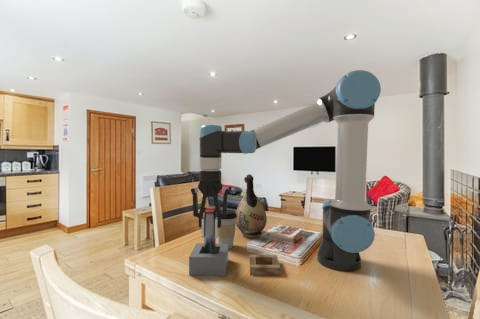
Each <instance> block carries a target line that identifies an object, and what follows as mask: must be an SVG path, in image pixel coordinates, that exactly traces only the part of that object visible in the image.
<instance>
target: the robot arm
mask: <svg viewBox="0 0 480 319" xmlns="http://www.w3.org/2000/svg"><path fill="white" fill-rule="evenodd" d="M381 92H382V88H381V83H380V81H379V79H378V77H377V76H375V75H374V73H372V72H370V71H367V70H363V69H355V70H352V71H349V72H347V73H346V74H344V75H343V76H342V77H341V78H340V79H338V81H337V83H336V85H335V86H334V88H333V89H331V90H330V91H329V92H328V93H326V94H324V95H323V96H321V97H320V96H319V98H317V100H316V102H314V103H312V104H309V105H307V106H304V107H302V108H300V109H297V110H295V111H293V112H291V113H288V114H286V115H284V116H282V117H280V118H277V119H275V120H272V121H270V122H268V123H265V124H263V125H260V126H258V127H257V128H254V129H251V130H236V131H235V130H231V131H230V130H229V131H225V130H223V129H222V126H221V125H219V124H218V125H217V124H203V125H201V127H200V129H199V131H200V132H199V139H198V140H199V169H200V170H199V183H198V185H197V186H195V187H192V188H191V189H190V192H191V194H192V216H193V217H195V218H198V228H201V238H203V239H204V208H205V207H206V203H207V199H208V198H212V199H213V202H214V207H215V208H216V214H217V217H216V219H215V238H216V239H218V228H220V227H221V218H223V217H226V214H227V210H228V194H229V192H230V188H229V187H225V186H223V184H222V171H221V169H222V154H244V155H245V154H247V155H248V154H254V153H256V151H257V150H258V149H261V148H262V147H265V146H268V145H270V144H272V143H275V142H277V141H279V140H283V139H285V138H287V137H290V136H292V135H294V134H296V133H299V132H301V131H304V130H306V129H309V128H311V127H314V126H315V125H318V124H320V123H331V122H333V121H334V122H336V124H337V139H336V140H337V144H336V146H337V147H336V168H335V170H336V171H335V196H334V199H325V200H324V201H323V203H322V236H321V237H322V238H321V242H320V245H319V248H318V250H317V252H316V256H317V257H316V258H317V261H318V262H319V264H321V265H322V266H325V267H326V268H328V269H332V270H336V271H343V272H354V271H357V270H359V269H361V267H362V258H361V254H360V253H361V252H364V251H366V250H367V249H369V248H370V247H371V245H372V244H373V243H374V242H375V236H376V233H375V229H374V226H373V224H372V222H371V206H370V205H369V204H368V203H367V202H366V193H367V192H366V191H367V189H366V188H367V187H366V185H367V166H368V164H367V162H368V143H369V142H368V139H369V137H368V136H369V135H368V134H369V123H370V122H371V121H372V120H373V119H374V118H375V106H376V105H375V104H376V103H377V101H378V100H379V98H380V95H381ZM199 191H200V193H201V194H202V197H201V204H200V207H199V200H198V193H199ZM221 191H222V194H223V200H222V209H221V207H220V202H219V193H220V192H221ZM221 210H223V213H221Z"/></svg>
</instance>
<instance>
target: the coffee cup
mask: <svg viewBox="0 0 480 319" xmlns="http://www.w3.org/2000/svg"><path fill="white" fill-rule="evenodd" d="M220 210H221V213H223V209H220ZM216 217H217V213H216ZM236 217H237V214H236V211H235V210H233V209H227V214H226V217H223V218H221V227H220V228H218V237H217V239H218V244H228V250H230V249H232V248H233V247H234V239H235V234H236V227H237V226H236Z"/></svg>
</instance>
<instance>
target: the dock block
mask: <svg viewBox="0 0 480 319" xmlns="http://www.w3.org/2000/svg"><path fill="white" fill-rule="evenodd" d="M228 266H229V249H228V244H219V243H216V251H215V252H212V253H206V252H204V242H202V243H199V242H198V243H197V242H196V244H195V245H194V247H193V248H192V251H191V252H190V255H189V257H188V275H189V276H223V277H225V276H226V275H227V270H228Z"/></svg>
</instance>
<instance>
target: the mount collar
mask: <svg viewBox="0 0 480 319" xmlns="http://www.w3.org/2000/svg"><path fill="white" fill-rule="evenodd" d="M281 270H282V268H281V265H280V261H279V258H278V255H277V254H249V275H250V276H251V275H252V276H255V275H256V276H257V275H259V276H281V275H282V274H281Z"/></svg>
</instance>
